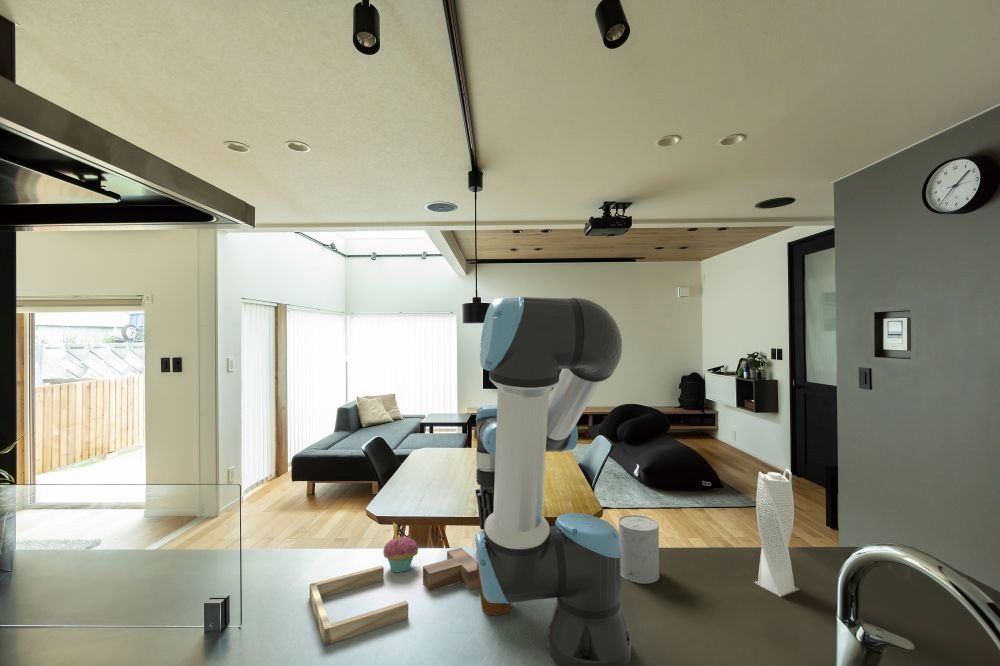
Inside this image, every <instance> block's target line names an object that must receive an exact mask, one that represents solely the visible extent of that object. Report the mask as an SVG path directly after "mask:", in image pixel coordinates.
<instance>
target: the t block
mask: <svg viewBox="0 0 1000 666" xmlns="http://www.w3.org/2000/svg"><path fill="white" fill-rule="evenodd" d="M458 583H459V584H460V583H461V584H463V586H464V587H466V589H467V590H473V589H476V588H478V587H479V581H478V572H477V564H476V561H475V559H474V556H471V555H470V553H468V552H467V551H466V550H465V549H463V547H458V548H454V549H451V550H448V551H446V559H445V560H441V561H437V562H433V563H430V564H429V563H428V564H426V565H423V566H422V585H424V587H425V588H426V589H427V590H428V591H429V592H432V591H435V590H439V589H441V588H444V587H448V586H452V585H454V584H458Z"/></svg>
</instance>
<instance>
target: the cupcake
mask: <svg viewBox="0 0 1000 666" xmlns="http://www.w3.org/2000/svg"><path fill="white" fill-rule="evenodd" d="M392 527H393V534H394V538H392V539H390V540H388V542H387V543H386V544H385V545H384V547H383V557H384V558H386V559H387V562H388V563H389V564H388V565H389V566H390V570H391V571H393V572H395V573H404V572H406V571H408V570H409V569H410V568H411V566H412V562H413V559H414V557H415V556H417V555H418V553H419V546H418V543H417V541H415V539H413V538H411V537H409V536H398V532H397V526H396V523H395V521H394V520H393V521H392Z"/></svg>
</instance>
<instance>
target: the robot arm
mask: <svg viewBox="0 0 1000 666" xmlns="http://www.w3.org/2000/svg"><path fill="white" fill-rule="evenodd" d="M481 331H482V333H481V338H480V353H479V354H480V355H479V361H480V367H481V368H482V369H483V370H486V371H488V372H489V373H488V376H489V377H488V378H489V381H490V382H491V383H492V384H493V385H494V386H495V387H496V388H497V399H496V400H497V403H496V404H486V405H481V406H478V407H477V409H476V418H475V421H476V450H475V451H476V452H475V453H476V455H475V456H476V457H475V458H476V462H475V463H476V464H475V465H476V467H477V468H476V469H475V470H476V473H475V474H476V475H475V476H476V477H475V478H476V483H477V484H478V485H479V486H480V488H478V489H475V491H474V492H475V496H476V500H477V509H478V511H477V512H478V520H479V528H480V531H477V532H476V533H475V536H474V538H475V547H476V548H475V549H476V550H477V557H478V565H479V572H480V578H481V585H482V590H483V595H484V597H485V599H486V600H487V601H488V602H490V603H506V604H507V603H508V604H510V602H511V603H517V602H518V603H519V602H526V601H536V600H546V599H556V602H555V606H554V610H553V613H552V619H551V621H550V622H549V625H548V628H547V650H548V652H549V655H550V656H551V657H552V659H553V660H554V661H555V662H556V663H557V664H558V665H559V666H628V665H629V663H630V661H631V658H632V641H631V636H630V633H629V632H628V628H627V624H626V622H625V620H626V619H625V618H624V615H623V611H622V609H621V608H622V607H621V605H622V604H621V603H622V602H621V599H622V598H621V596H622V595H621V589H622V588H621V585H622V583H621V578H622V576H621V551H620V538H619V531H618V530H617V529H616V527H615V526H614V525H612V523H610V522H608V521H606V520H604V519H602V518H600V517H598V516H595V515H590V514H585V513H579V512H567V513H563V514H560V515H558V516H557V518H556V520H555V524H554V526H550V524H549V522H548V521H547V519H546V518H545V517H544V516H543V505H544V504H543V502H544V486H545V484H544V483H545V470H546V468H545V467H546V466H545V465H546V453H548V452H549V453H550V452H557V453H562V452H566V451H573V450H574V449H575V448H576V447H577V444H578V443H577V442H578V439H579V433H578V427H577V423H578V422H579V420H580V418H581V417H582V415H583V413H584V412H585V409H586V408H587V406H588V404H589V403H590V401H591V400H592V398H593V397H594V394H595V392H596V391H597V390H598V388H599V386H600V384H601V382H602V383H603V382H605V381H607V380H608V379H609V378H611V377H612V375H613V374H614V372H615V370H616V369H617V367H618V365H619V363H620V360H621V356H622V353H623V339H622V335H621V332H620V331H621V330H620V328H619V326H618V324H617V322H616V321H615V318H614V316H612V314H611V313H610V312H609V311H608V310H607V309H605V308H604V307H603V306H602V305H600V304H598V303H597V302H594V301H593V300H590V299H587V298H581V297H572V298H571V297H570V298H563V297H562V298H558V297H535V296H533V297H531V296H530V297H529V296H513V297H500V298H496V299H494V300H493V301H492V302H490V304H489V306H488V308H487V310H486V314H485V315H484V320H483V325H482V330H481ZM551 390H552V392H551V394H550V391H551Z"/></svg>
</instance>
